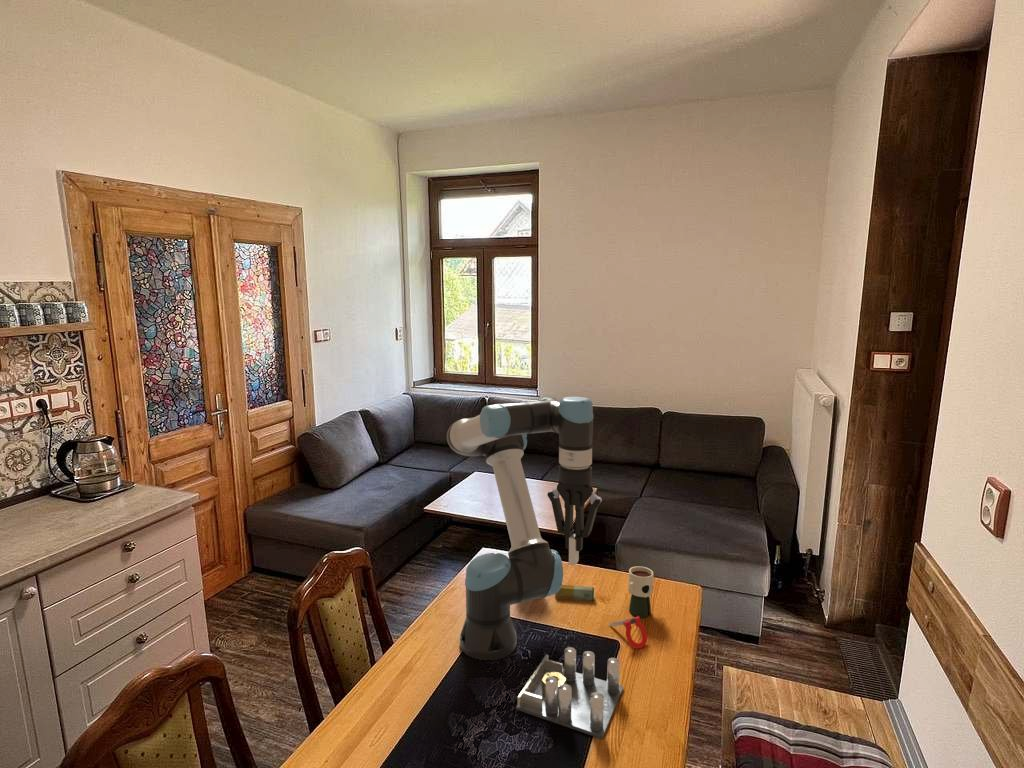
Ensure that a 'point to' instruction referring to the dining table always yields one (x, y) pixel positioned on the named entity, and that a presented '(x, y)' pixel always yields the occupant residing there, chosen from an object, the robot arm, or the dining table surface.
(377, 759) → the dining table surface
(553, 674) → the nut
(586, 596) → the medication box
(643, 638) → the tow hook
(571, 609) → the dining table surface
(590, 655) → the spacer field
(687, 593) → the dining table surface
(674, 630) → the dining table surface
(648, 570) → the character mug
